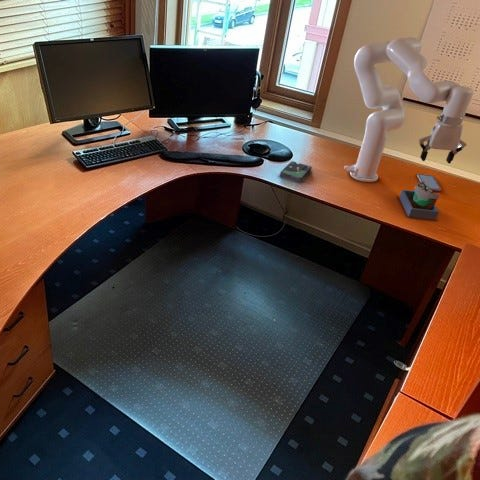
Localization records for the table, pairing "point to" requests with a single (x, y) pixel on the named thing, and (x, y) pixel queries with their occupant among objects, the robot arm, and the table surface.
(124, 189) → the table surface
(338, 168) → the table surface
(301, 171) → the disk drive
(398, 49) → the robot arm
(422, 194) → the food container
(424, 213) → the rectangular frame
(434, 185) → the smartphone
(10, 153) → the table surface
